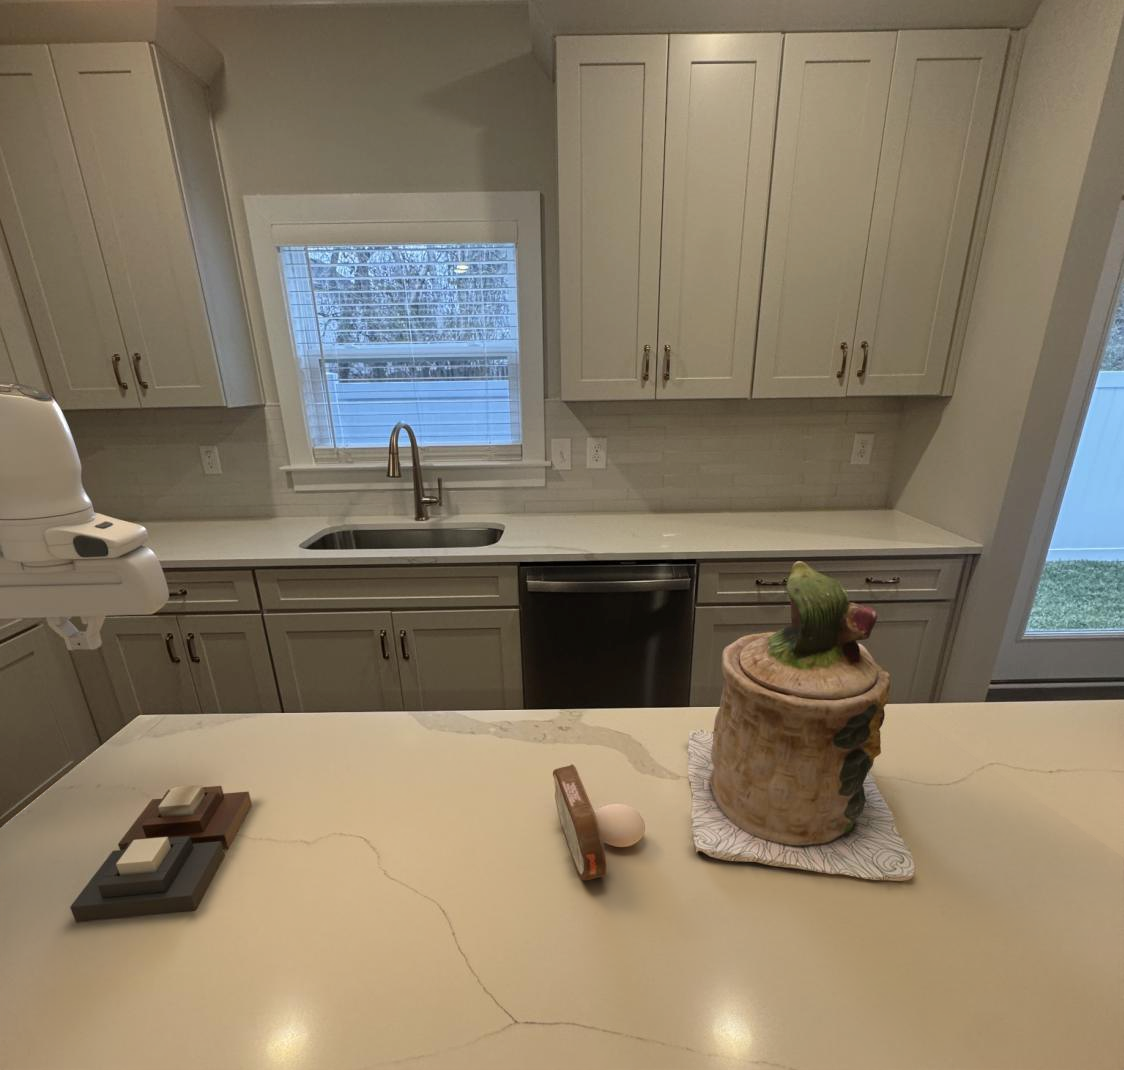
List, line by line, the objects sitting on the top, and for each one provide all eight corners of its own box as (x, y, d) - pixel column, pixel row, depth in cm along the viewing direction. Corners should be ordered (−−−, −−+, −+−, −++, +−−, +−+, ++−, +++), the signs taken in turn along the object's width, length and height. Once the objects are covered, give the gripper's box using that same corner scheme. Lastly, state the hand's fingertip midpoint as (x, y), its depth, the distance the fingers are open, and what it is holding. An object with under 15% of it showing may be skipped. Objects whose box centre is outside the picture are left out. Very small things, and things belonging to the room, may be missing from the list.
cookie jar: (690, 862, 71) (711, 606, 59) (685, 740, 93) (700, 537, 81) (920, 888, 67) (993, 619, 55) (858, 755, 90) (900, 543, 78)
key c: (120, 876, 66) (115, 864, 65) (137, 851, 69) (133, 839, 68) (155, 873, 66) (151, 860, 65) (171, 848, 69) (167, 836, 69)
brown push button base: (122, 858, 73) (113, 832, 71) (156, 812, 80) (148, 787, 79) (228, 849, 74) (221, 822, 73) (252, 804, 81) (245, 780, 80)
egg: (642, 859, 71) (585, 851, 73) (645, 833, 76) (592, 825, 77) (644, 823, 70) (586, 816, 71) (647, 799, 74) (593, 792, 76)
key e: (161, 818, 74) (157, 806, 73) (175, 798, 77) (172, 787, 77) (193, 816, 74) (189, 804, 74) (205, 796, 78) (202, 785, 77)
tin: (608, 893, 67) (609, 832, 64) (580, 899, 66) (580, 838, 63) (574, 803, 81) (573, 750, 78) (550, 808, 80) (549, 753, 77)
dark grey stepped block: (75, 922, 65) (63, 894, 63) (118, 865, 72) (108, 838, 70) (195, 910, 66) (186, 882, 64) (225, 855, 73) (217, 828, 72)
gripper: (-76, 545, 65) (-30, 663, 70) (131, 542, 67) (161, 656, 72) (-29, 530, 70) (10, 639, 75) (160, 527, 72) (186, 634, 78)
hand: (85, 647), depth 74 cm, fingers closed
